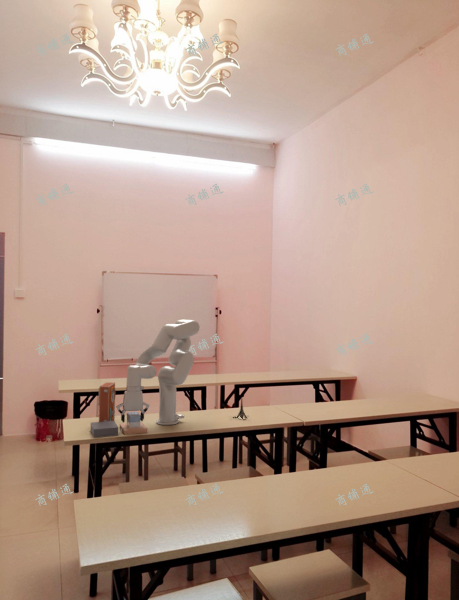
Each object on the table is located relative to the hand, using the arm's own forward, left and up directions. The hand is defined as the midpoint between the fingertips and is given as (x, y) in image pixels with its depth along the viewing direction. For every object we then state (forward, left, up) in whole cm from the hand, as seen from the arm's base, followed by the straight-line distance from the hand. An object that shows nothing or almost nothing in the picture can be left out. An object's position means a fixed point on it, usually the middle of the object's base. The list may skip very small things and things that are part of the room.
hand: (132, 421), depth 247 cm
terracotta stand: (-1, 0, -5) cm, 5 cm away
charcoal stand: (+14, 0, -5) cm, 15 cm away
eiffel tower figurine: (-66, -5, -5) cm, 66 cm away
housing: (-1, 0, -3) cm, 3 cm away
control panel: (+10, -20, -5) cm, 23 cm away
